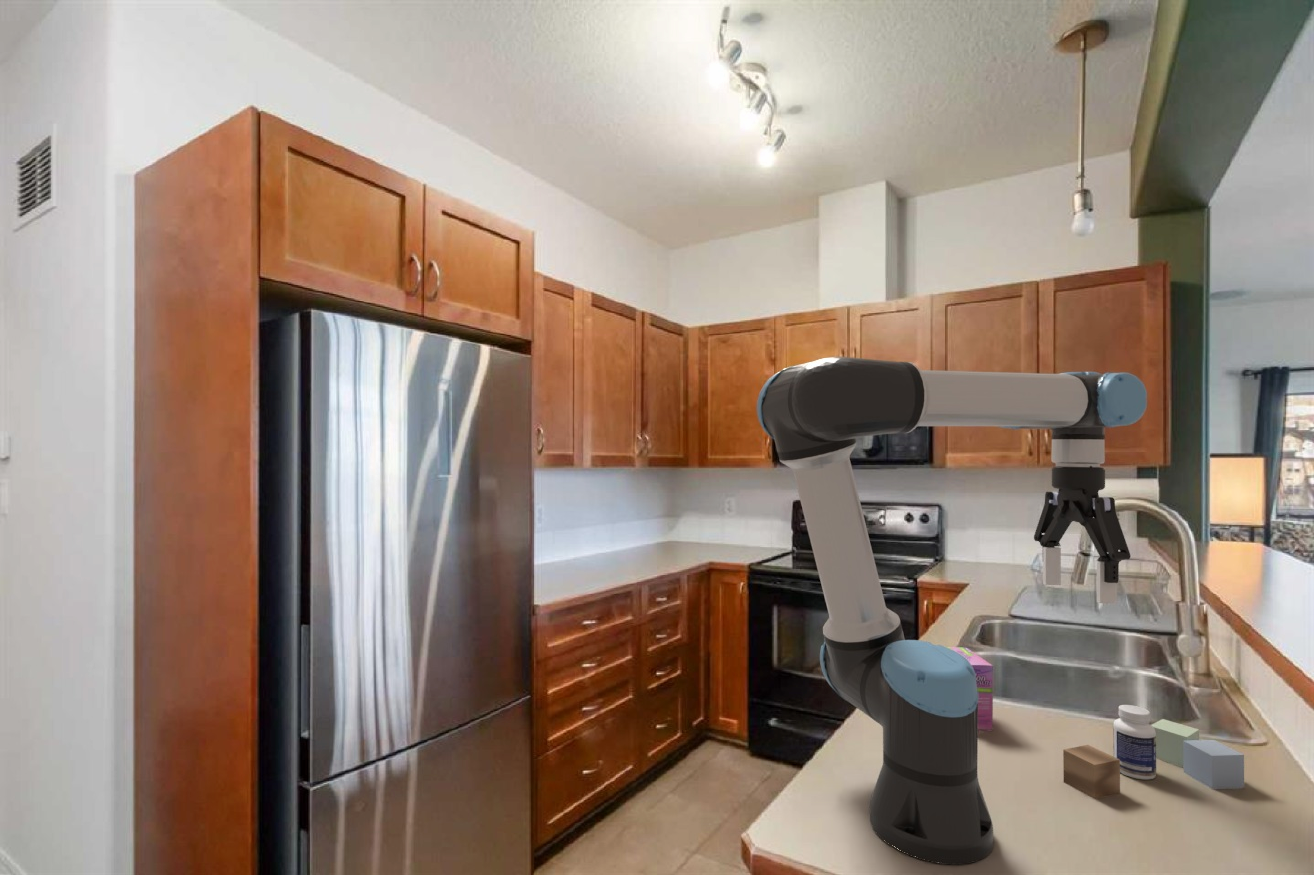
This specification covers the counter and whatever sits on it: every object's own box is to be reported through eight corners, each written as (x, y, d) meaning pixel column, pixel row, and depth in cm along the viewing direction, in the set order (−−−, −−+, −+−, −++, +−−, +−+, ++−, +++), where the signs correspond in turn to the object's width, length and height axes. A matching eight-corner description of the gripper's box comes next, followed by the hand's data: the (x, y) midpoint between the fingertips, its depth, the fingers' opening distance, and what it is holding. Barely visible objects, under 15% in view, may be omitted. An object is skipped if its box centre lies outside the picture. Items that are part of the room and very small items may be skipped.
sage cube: (1187, 768, 104) (1186, 737, 104) (1150, 756, 108) (1149, 725, 108) (1199, 760, 107) (1199, 729, 107) (1162, 748, 111) (1162, 718, 111)
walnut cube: (1094, 799, 95) (1094, 764, 95) (1063, 782, 100) (1063, 749, 100) (1120, 793, 97) (1119, 759, 97) (1088, 777, 101) (1087, 744, 101)
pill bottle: (1163, 782, 100) (1163, 717, 100) (1124, 779, 101) (1123, 714, 101) (1145, 765, 105) (1144, 703, 105) (1107, 762, 106) (1106, 701, 106)
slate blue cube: (1212, 789, 98) (1211, 755, 98) (1183, 772, 103) (1183, 740, 103) (1244, 788, 98) (1243, 754, 98) (1214, 771, 103) (1213, 739, 103)
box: (994, 731, 118) (993, 664, 118) (962, 730, 118) (961, 664, 118) (967, 707, 128) (967, 646, 128) (938, 707, 128) (937, 646, 128)
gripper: (1159, 468, 98) (1159, 612, 97) (1052, 463, 122) (1052, 578, 122) (1109, 467, 97) (1109, 611, 97) (1013, 463, 122) (1012, 577, 122)
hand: (1077, 593), depth 110 cm, fingers open, 13 cm apart
